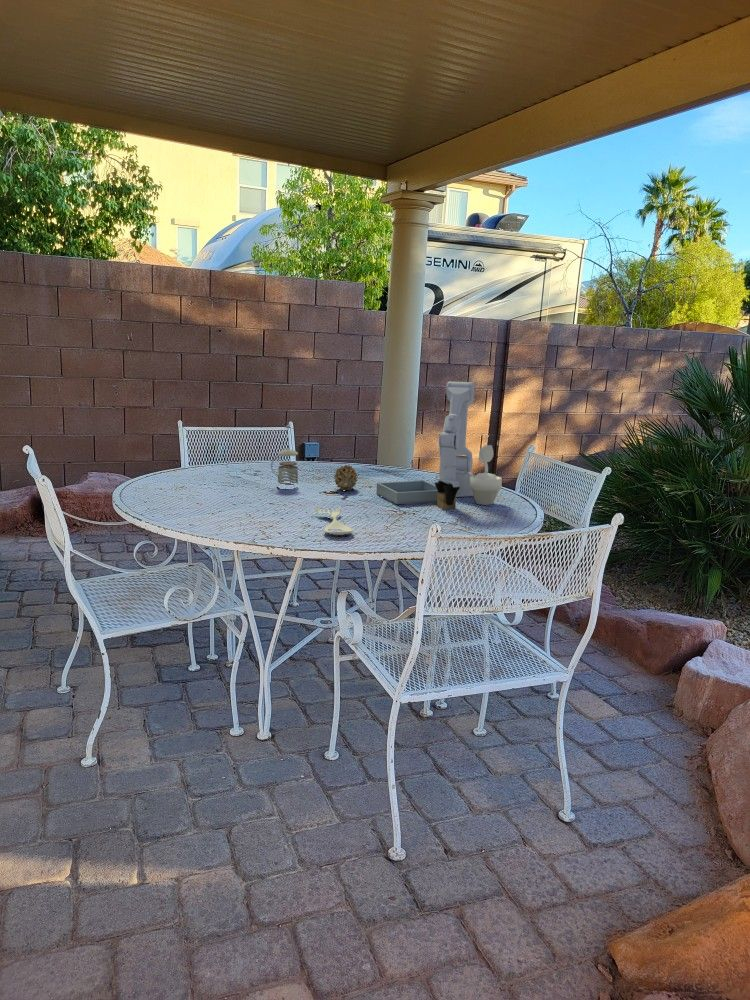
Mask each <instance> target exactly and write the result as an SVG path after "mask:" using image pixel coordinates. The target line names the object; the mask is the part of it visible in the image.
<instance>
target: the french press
mask: <svg viewBox="0 0 750 1000" xmlns="http://www.w3.org/2000/svg"><path fill="white" fill-rule="evenodd" d="M285 429H291V425H290V424H287V425H286V426H285ZM277 454H278V456H275V457H274V458H273V459H272V460H271V464H270V469H271V471H272V473H273V474H274V475H276V476H277V483H278V482H279V483H280V484H285V485H294V484H291V483H282V482H284V481H290V482H292V483H297V484H298V485H299V480H298V479H299V469H298V466H296V465H298V463H297V462H294V461H282V462H279V465H280V466H278V473H275V472H274V470H273V463H274V461H275V460H276V459H277V461H280V458H279V456H284V457H286V456H287V457H292V456H293V457H294V456H298V455H299V452H297V451H296V450H294V449H290V448H287V449H283V450H280V451H278V452H277Z"/></svg>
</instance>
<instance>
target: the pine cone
mask: <svg viewBox="0 0 750 1000" xmlns="http://www.w3.org/2000/svg"><path fill="white" fill-rule="evenodd" d="M333 474H334V473H333ZM333 476H334V477H333V479H334V481H333V482H334V483H335V485H336V487H337V488H340V490H341V491H342V490H346V491H347V490H348V489H349V491H351V490H353V489H354V487H356V485H357V482H358V477H357V476H358V473H357V470H356V468H355V467H353V466H352V465H350V464H344V465H341V466H339V468H338V467H336V470H335V474H334V475H333Z"/></svg>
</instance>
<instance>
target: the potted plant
mask: <svg viewBox="0 0 750 1000" xmlns="http://www.w3.org/2000/svg"><path fill="white" fill-rule="evenodd" d="M496 445H499V441H497V443H496ZM503 452H504V450H503V448H502V450H501V453H503ZM493 458H494V448H493V445H492V444H489V445H484V446H482V447H480V449H479V451H478V461H479V462H480V463H482V464H484V472H482V473H481V472H479V473H477V474H473V476H471V477H470V488H471V489H472V490H473V494H474V496H473V497H474V501H475V503H476V504H478V505H480V504H482V505H481V506H491V505H493V504H494V503H495V501H496V498H497V496H498V494H499V492H500V490H502V487H503V486H502V483H503V479H502V477H501V476H497V475H496V474H494V473H489V465H488V463H490V462H491V461H492V460H493ZM490 504H491V505H490Z"/></svg>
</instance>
